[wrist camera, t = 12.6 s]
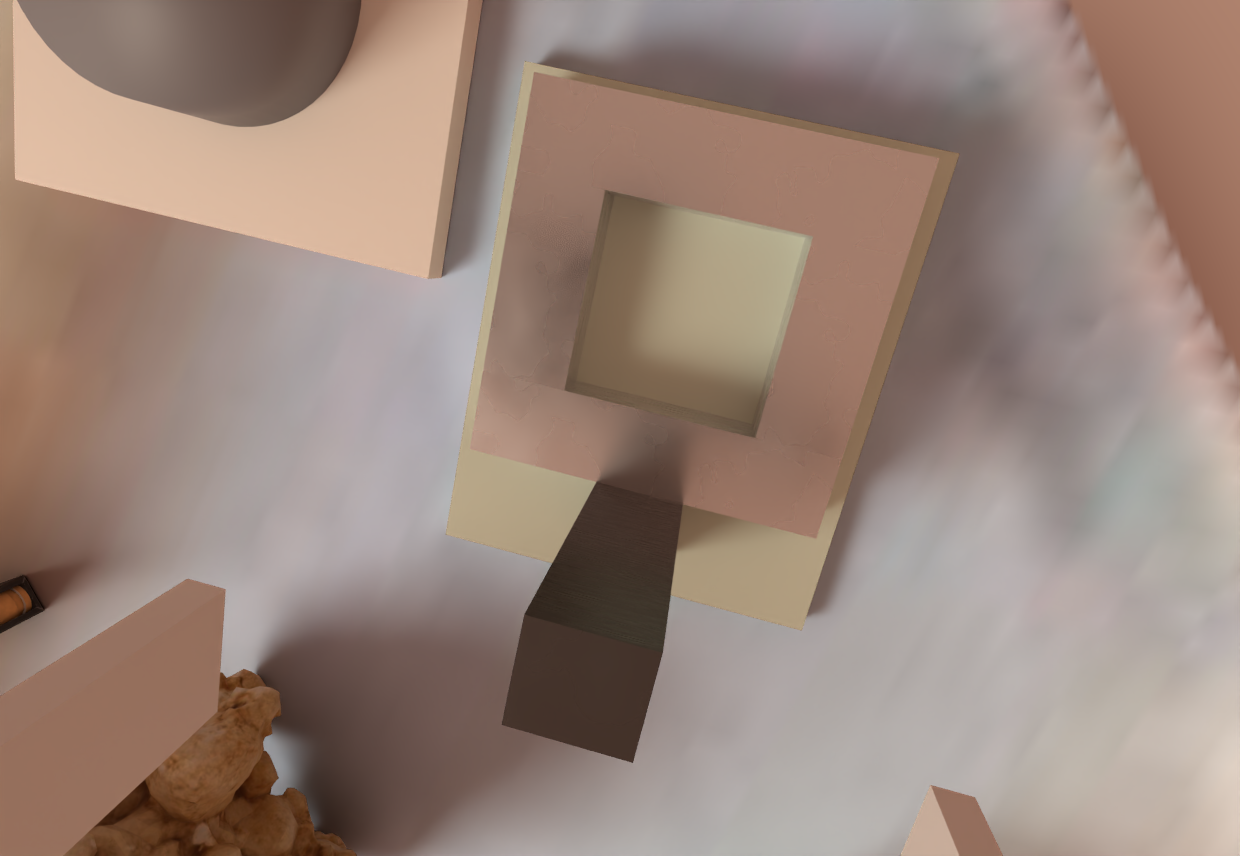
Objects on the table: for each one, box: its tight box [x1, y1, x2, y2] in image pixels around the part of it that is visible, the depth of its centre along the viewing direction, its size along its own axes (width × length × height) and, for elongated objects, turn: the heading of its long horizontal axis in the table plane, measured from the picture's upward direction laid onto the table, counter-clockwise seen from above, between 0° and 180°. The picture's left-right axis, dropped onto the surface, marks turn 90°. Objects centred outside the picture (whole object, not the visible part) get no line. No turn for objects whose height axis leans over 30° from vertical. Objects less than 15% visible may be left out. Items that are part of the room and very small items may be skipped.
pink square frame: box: [470, 72, 939, 763], centre depth 18 cm, size 15×12×11 cm
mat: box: [446, 61, 959, 631], centre depth 24 cm, size 17×14×1 cm
